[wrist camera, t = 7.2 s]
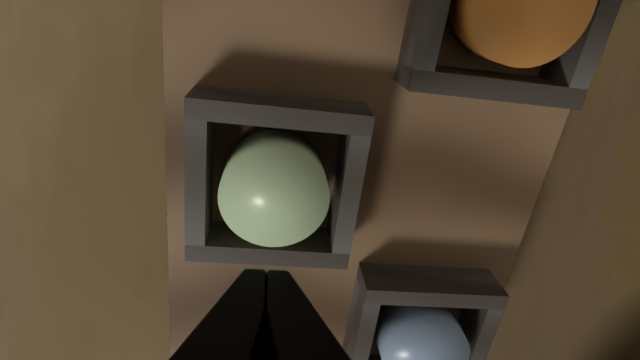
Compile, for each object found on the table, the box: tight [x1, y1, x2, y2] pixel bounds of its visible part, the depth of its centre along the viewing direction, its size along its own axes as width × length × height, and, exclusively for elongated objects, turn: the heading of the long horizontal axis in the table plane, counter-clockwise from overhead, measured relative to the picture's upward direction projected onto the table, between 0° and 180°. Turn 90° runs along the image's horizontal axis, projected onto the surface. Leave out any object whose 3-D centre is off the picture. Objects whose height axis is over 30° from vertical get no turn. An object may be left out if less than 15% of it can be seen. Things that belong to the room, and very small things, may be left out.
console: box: [162, 0, 622, 360], centre depth 14 cm, size 20×13×4 cm, turn 173°
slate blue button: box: [375, 305, 470, 360], centre depth 16 cm, size 3×3×2 cm
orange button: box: [450, 0, 598, 68], centre depth 11 cm, size 3×3×2 cm
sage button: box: [218, 130, 330, 247], centre depth 13 cm, size 3×3×2 cm
